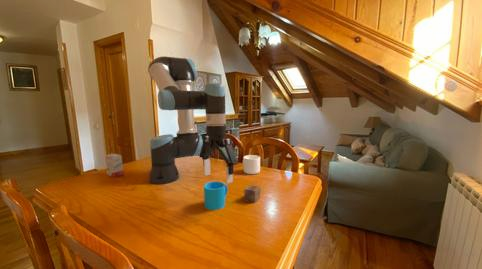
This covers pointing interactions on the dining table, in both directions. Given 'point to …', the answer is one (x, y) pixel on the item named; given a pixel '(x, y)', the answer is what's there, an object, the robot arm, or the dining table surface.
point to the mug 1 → (215, 195)
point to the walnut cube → (252, 193)
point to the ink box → (114, 165)
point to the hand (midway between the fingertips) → (217, 178)
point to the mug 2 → (251, 164)
